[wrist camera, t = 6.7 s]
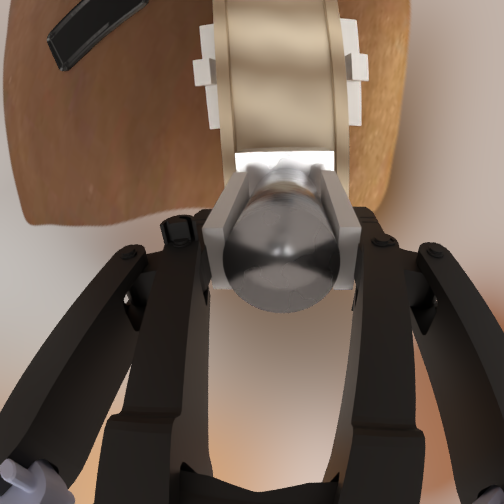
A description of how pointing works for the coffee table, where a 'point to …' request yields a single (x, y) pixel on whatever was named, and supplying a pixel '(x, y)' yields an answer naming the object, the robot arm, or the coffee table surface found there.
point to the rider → (282, 231)
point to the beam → (281, 78)
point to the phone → (88, 28)
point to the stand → (353, 63)
